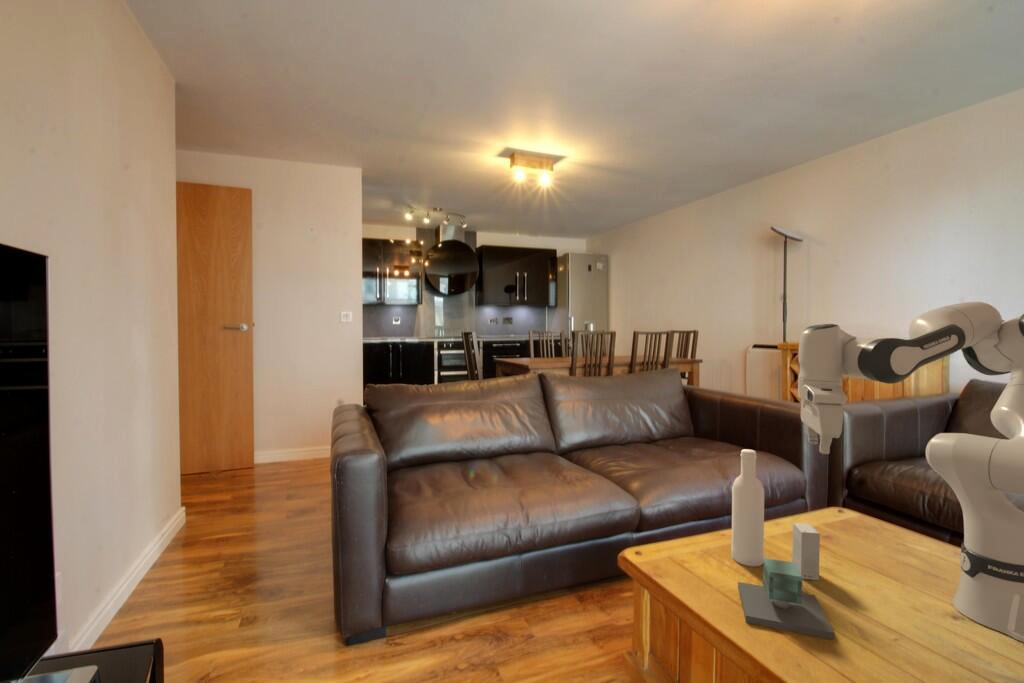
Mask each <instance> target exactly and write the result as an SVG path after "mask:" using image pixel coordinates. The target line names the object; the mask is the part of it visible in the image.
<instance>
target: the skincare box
mask: <svg viewBox="0 0 1024 683" xmlns="http://www.w3.org/2000/svg"><path fill="white" fill-rule="evenodd" d="M820 536H821V534H820V532H819V531H817V529H815V527H814V526H812V525H811V524H809V523H799V522H798V523H797V522H793V523H792V546H791V547H792V550H791V551H792V552H791V554H792V557H791V558H792V559H791V562H793V563H795V565H796V567H797V568H798V570H799V572H800V574H801V575H802V580H810V579H811V581H819V580H820V549H821V547H820V543H821V542H820V541H821V538H820ZM812 579H813V580H812Z"/></svg>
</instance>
